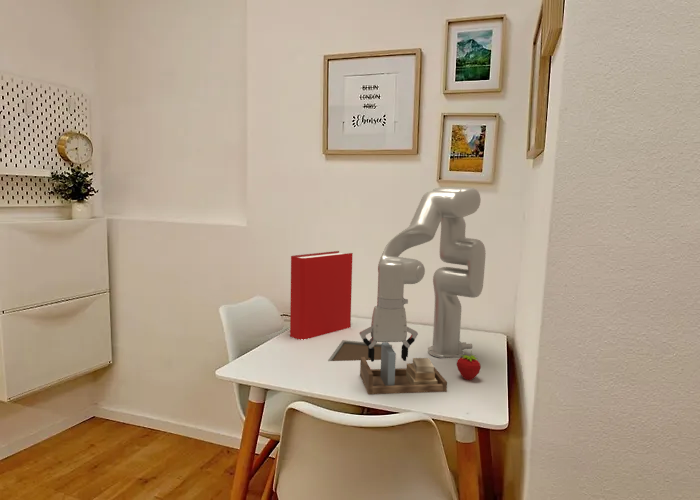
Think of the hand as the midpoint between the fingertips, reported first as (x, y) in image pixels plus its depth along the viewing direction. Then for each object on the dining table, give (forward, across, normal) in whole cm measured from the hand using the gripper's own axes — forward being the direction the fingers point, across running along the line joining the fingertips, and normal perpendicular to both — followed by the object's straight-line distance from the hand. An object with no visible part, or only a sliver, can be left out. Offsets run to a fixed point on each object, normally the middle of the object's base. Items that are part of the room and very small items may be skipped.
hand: (387, 359), depth 142 cm
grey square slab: (+7, 0, 0) cm, 7 cm away
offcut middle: (+5, -10, 0) cm, 12 cm away
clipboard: (+9, +3, -28) cm, 30 cm away
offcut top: (+3, -11, 0) cm, 11 cm away
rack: (+8, -5, 0) cm, 10 cm away
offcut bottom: (+7, -11, 0) cm, 13 cm away
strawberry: (+9, -26, -2) cm, 28 cm away
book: (+9, +15, -58) cm, 60 cm away
